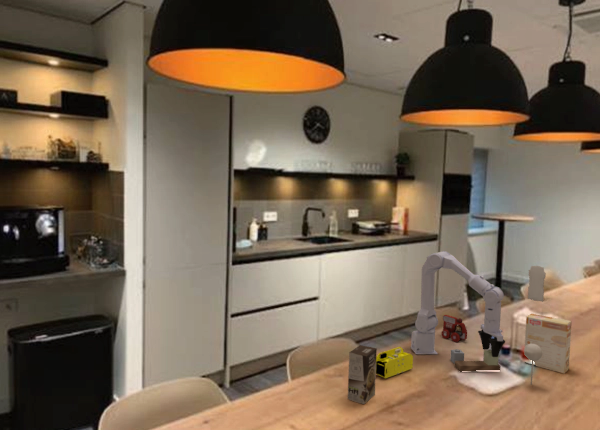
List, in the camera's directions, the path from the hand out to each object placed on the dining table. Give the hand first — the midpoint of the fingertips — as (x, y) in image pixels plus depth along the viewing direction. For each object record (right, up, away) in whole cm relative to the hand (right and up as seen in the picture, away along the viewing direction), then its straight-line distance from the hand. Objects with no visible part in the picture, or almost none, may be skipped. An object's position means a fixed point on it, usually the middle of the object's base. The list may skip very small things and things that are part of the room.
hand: (490, 352), depth 179 cm
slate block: (-10, -6, +7) cm, 14 cm away
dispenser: (+77, -1, +115) cm, 139 cm away
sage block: (0, -4, 0) cm, 4 cm away
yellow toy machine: (-39, -7, -5) cm, 39 cm away
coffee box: (-54, -7, -25) cm, 60 cm away
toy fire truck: (-2, -5, +36) cm, 36 cm away
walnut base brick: (-5, -7, 0) cm, 8 cm away
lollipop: (+10, -8, -13) cm, 18 cm away
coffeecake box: (+25, -7, +5) cm, 26 cm away
